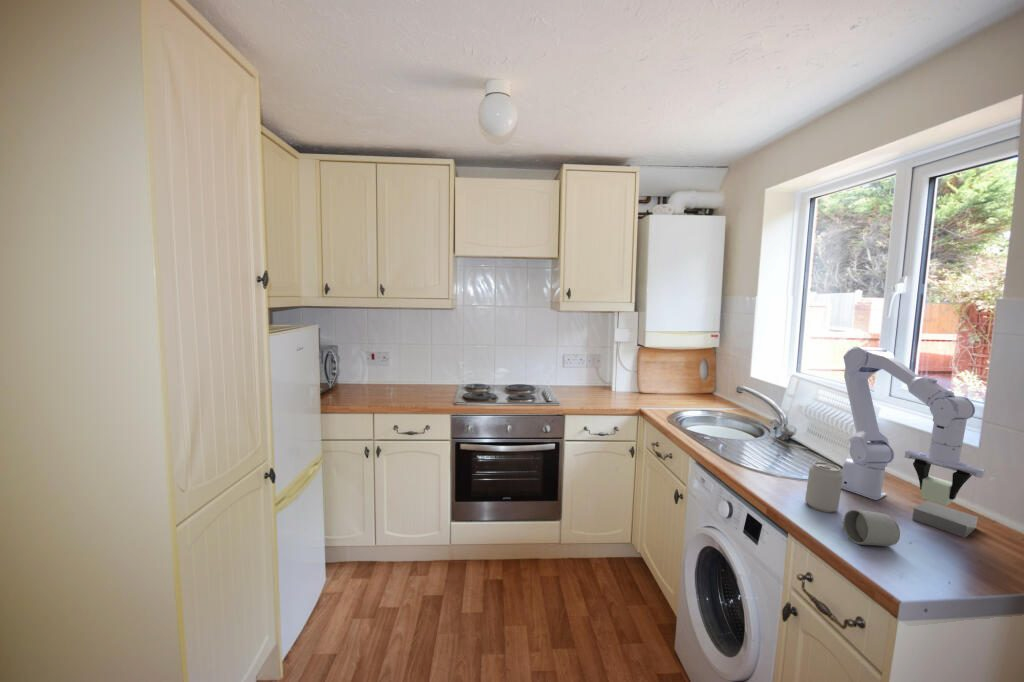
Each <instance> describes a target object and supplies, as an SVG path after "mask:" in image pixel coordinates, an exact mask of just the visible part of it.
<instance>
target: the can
mask: <svg viewBox="0 0 1024 682" xmlns="http://www.w3.org/2000/svg"><path fill="white" fill-rule="evenodd" d="M842 479H843V474H842V469H841V468H840V466H838V465H835V464H832V463H829V462H824V461H814V462H813V463H812V465H811V466H810V467H809V472H808V477H807V483H806V491H805V502H806V503H807V504H808V506H810V507H811V508H812V507H813V509H814V510H817V511H819V510H820V512H824V513H833V512H836V511H838V510H839V505H840V498H841V491H842V488H841V486H842Z"/></svg>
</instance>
